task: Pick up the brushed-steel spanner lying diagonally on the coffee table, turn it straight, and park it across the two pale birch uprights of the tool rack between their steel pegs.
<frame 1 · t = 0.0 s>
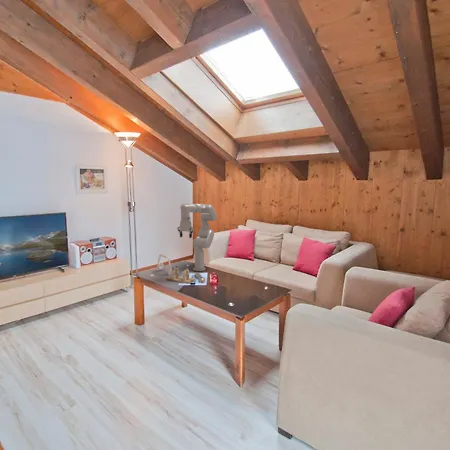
hand: (185, 237, 295), 37 cm above the table, tool pointing down, fingers open, 9 cm apart
rack: (180, 280, 291), on the table
headset: (164, 272, 313), on the table
spanner: (199, 278, 294), on the table
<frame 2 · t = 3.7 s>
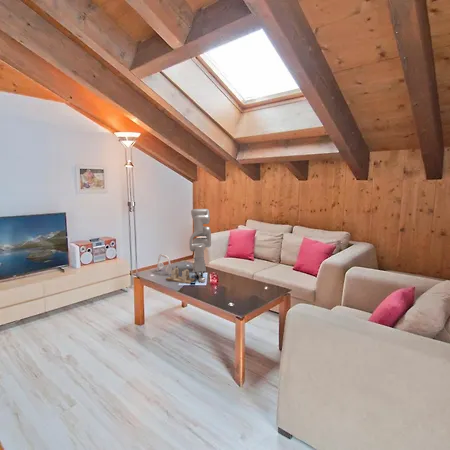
hand: (199, 278, 294), 0 cm above the table, tool pointing down, fingers closed on spanner, 3 cm apart
spanner: (199, 278, 294), on the table, touching gripper
everything else where it was.
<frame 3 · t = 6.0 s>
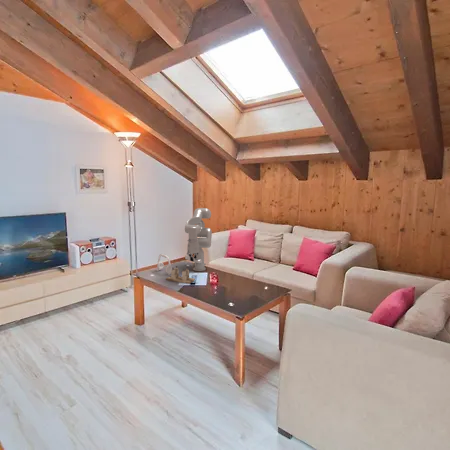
hand: (193, 260, 290), 17 cm above the table, tool pointing down, fingers closed on spanner, 3 cm apart
spanner: (193, 261, 290), point 17 cm above the table, touching gripper
everything else where it was.
when the fingers open (11 cm above the table, at t = 8.5 s): spanner stays where it is, resting on rack.
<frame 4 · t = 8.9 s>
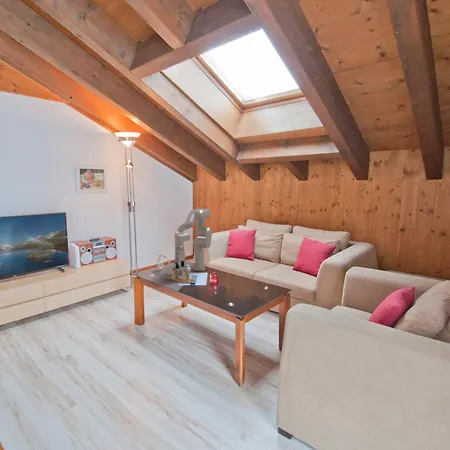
hand: (180, 267, 289), 12 cm above the table, tool pointing down, fingers open, 7 cm apart
spanner: (180, 269, 289), point 9 cm above the table, touching rack
everything else where it was.
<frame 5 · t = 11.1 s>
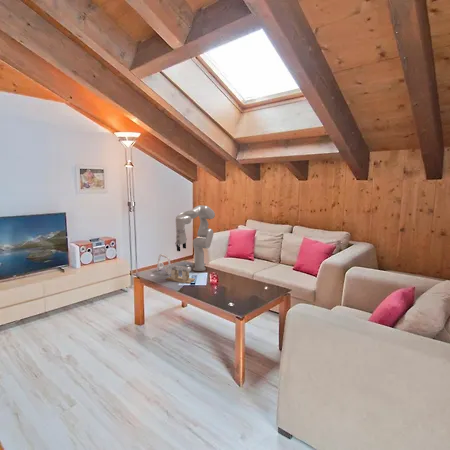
hand: (181, 249, 291), 27 cm above the table, tool pointing down, fingers open, 9 cm apart
nothing on the table moved.
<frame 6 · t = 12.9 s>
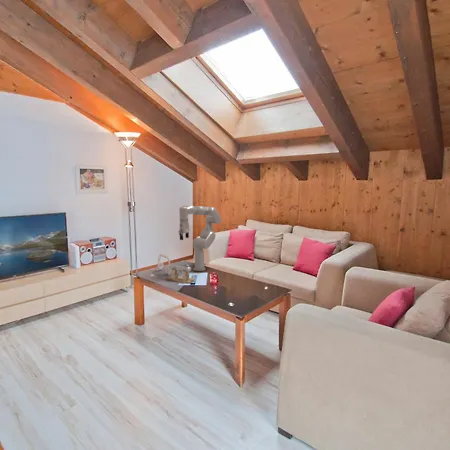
hand: (184, 238, 300), 34 cm above the table, tool pointing down, fingers open, 9 cm apart
nothing on the table moved.
at the end: spanner 0.1 cm off-centre on the rack, point 9.5 cm above the rack's base; spanner tilted 0°; the gripper is holding nothing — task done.
